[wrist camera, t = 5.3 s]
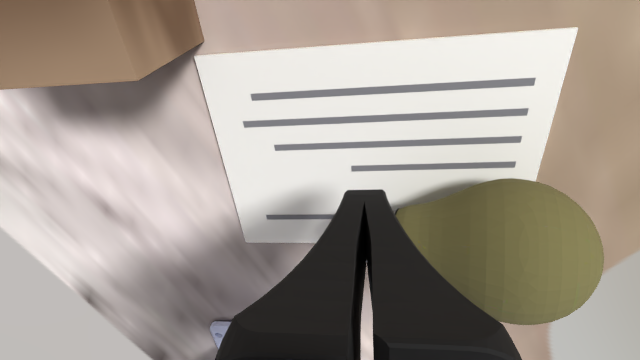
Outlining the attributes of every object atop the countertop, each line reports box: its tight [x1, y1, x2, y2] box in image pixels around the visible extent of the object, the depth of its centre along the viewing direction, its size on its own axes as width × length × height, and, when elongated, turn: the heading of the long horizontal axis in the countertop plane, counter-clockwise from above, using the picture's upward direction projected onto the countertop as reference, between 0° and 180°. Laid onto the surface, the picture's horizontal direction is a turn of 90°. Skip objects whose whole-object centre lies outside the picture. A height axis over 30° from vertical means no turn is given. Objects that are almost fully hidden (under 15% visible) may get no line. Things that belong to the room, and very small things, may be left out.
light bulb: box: [366, 178, 604, 325], centre depth 15 cm, size 6×6×10 cm
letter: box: [194, 27, 578, 243], centre depth 16 cm, size 10×14×1 cm
